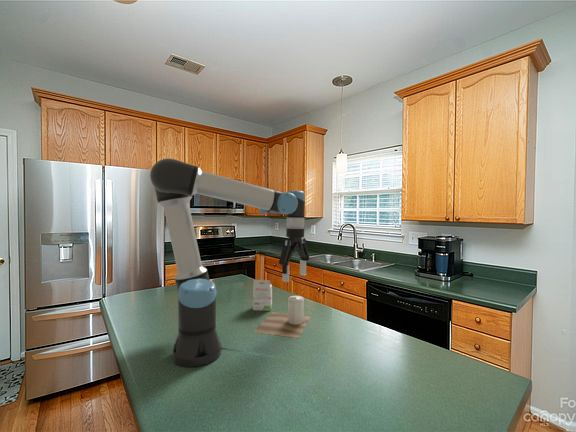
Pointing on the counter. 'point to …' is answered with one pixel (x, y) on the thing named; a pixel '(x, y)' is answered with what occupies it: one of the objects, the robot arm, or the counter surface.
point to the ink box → (262, 295)
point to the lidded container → (295, 309)
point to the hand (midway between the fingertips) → (294, 278)
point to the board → (281, 326)
